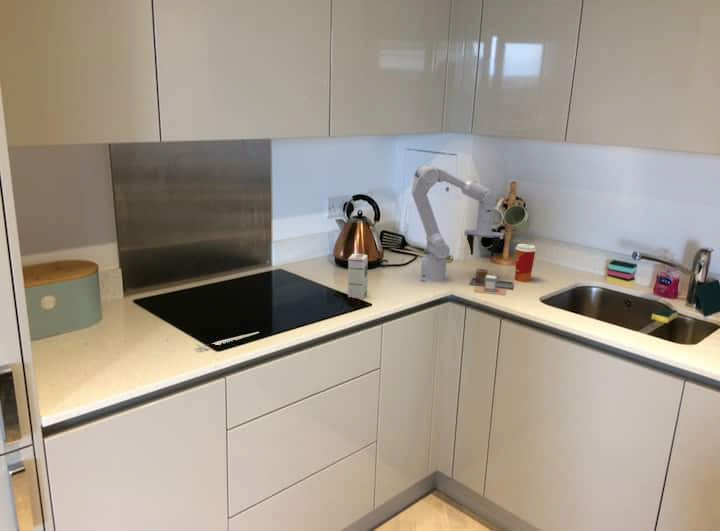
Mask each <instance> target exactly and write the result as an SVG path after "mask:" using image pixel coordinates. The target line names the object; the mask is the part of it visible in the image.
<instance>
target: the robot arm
mask: <svg viewBox="0 0 720 531" xmlns="http://www.w3.org/2000/svg"><path fill="white" fill-rule="evenodd" d="M442 182H445V183H448V184H451V185H452V186H455V187H457V188H459V189H460V190H461V193H462V194H463V195H465V196H467V197H468V198H471V199H473V200H475V201H477V202H478V210H477V221H476V229H465V230H464V234H463V235H464V237H466V240H467V242H468V246H469V250H470V255H471V256H473V255H474V245H475V244H474V243H475V237H481V238H492V245H491V246H492V247H491V254H490V257H491V258H492V257H494V253H495V251H496V249H497V246H498V245H499V243H500V241H501V240H503V239H504V232H497V231H493V221H494V210H495V205H496V203H497V201H498V194H497V193H496V192H495V191H494V190H493V189H492V190H491V189H490V188H488V187H487V185H482V184H479V183H477V180H475V179H467V180H464V179H462V178H459V177H458V176H456V175H454V174H452V173H450V172H448V171H446V170H443V169H442V168H437V167H434V166H430V165H428V164H425V163H424V164H420V165H419V166H418V167H417V168H416V170H415V172H414V173H413V184H412V188H411V194H412V197H413V200H414V203H415V207H416V209H417V212H418V214H419V218H420V220H421V223H422V226H423V228H424V231H425V234H426V236H425V237H426V248H427V250H428V254H427V255H423V256H422V258H421V265H420V267H421V268H420V279H419V280H420V281H421V282H434V283H441V284H444V283H446V281H447V279H448V276H447V264H448V263H447V262H448V256H449V255H450V250H451V249H450V247H449V245H448V244H447V242H445V240H444V237H443V236H442V234H441V232H440V230H439V226H438V223H437V220H436V218H435V215H434V211H433V209H432V205H431V203H430V201H429V198H428V194H429V191H430V189H431V188H432V187H434V186H435V185H436V184H437V183H442Z"/></svg>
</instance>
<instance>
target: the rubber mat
mask: <svg viewBox="0 0 720 531" xmlns="http://www.w3.org/2000/svg"><path fill="white" fill-rule="evenodd" d="M506 291H507V289H500V288H496V291H495V292H486V291H484V287H483V286H475V287H474V290H473V292H474V293H479V294H489V295H495V296H496V295H497V296H504V297H505V296H506Z"/></svg>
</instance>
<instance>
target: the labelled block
mask: <svg viewBox="0 0 720 531" xmlns="http://www.w3.org/2000/svg"><path fill="white" fill-rule="evenodd" d="M497 280H498V276H497V275H489V274H487V275H486V277H485V285H484V291H486V292H495V291H496V284H497Z"/></svg>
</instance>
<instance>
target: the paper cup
mask: <svg viewBox="0 0 720 531" xmlns="http://www.w3.org/2000/svg"><path fill="white" fill-rule="evenodd" d="M536 252H537V249H536V246H535V245H534V244H529V243H528V244H527V243H519V244H517V245H516V247H515V265H514V266H515V271H514V280H515V281H517V282H521V283H529V282H530V281H531V277H532V272H533V271H532V270H533V266H534V260H535V254H536Z"/></svg>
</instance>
